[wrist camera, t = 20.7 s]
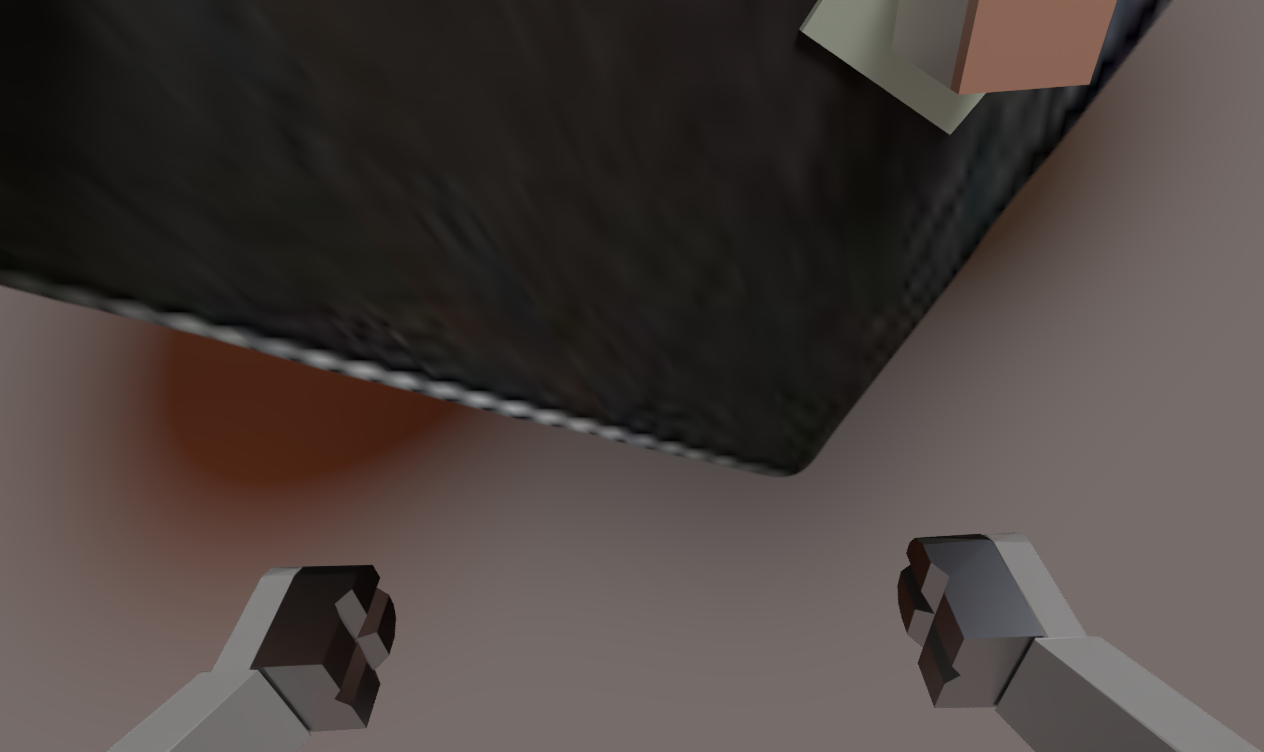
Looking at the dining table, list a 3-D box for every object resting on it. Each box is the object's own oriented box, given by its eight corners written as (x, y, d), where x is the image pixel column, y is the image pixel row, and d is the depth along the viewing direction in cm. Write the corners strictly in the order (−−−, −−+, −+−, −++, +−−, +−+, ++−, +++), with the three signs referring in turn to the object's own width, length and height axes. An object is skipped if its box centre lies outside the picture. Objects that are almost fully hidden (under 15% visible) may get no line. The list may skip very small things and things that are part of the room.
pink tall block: (891, 49, 39) (958, 94, 31) (909, -73, 35) (991, -58, 27) (994, 41, 38) (1089, 84, 30) (1023, -83, 35) (1140, -71, 27)
